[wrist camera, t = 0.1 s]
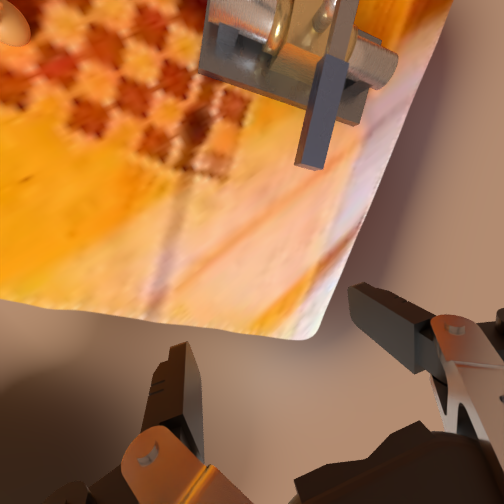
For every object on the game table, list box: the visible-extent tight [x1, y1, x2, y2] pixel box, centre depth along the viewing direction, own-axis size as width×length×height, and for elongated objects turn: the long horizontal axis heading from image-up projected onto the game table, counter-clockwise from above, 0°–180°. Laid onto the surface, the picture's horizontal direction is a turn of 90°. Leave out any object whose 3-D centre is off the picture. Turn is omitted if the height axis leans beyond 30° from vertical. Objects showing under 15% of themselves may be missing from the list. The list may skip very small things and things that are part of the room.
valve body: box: [198, 0, 398, 126], centre depth 29 cm, size 26×12×13 cm, turn 78°
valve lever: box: [294, 0, 359, 171], centre depth 23 cm, size 3×19×2 cm, turn 168°
